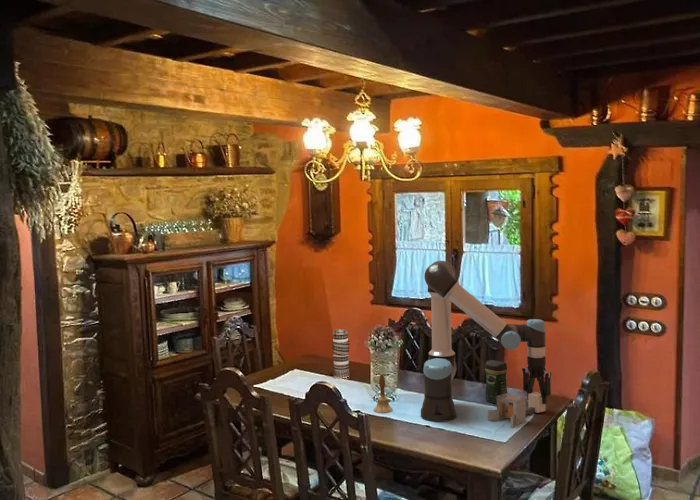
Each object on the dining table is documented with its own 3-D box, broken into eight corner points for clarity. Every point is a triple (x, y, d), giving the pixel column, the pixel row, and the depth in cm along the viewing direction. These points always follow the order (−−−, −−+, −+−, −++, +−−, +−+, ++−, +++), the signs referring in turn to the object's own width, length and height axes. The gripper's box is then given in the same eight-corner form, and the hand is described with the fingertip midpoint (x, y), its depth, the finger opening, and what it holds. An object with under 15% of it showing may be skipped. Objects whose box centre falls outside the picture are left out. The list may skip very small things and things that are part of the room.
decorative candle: (350, 379, 348) (348, 331, 346) (332, 379, 348) (331, 331, 346) (350, 374, 357) (349, 328, 355) (333, 374, 357) (331, 328, 355)
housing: (512, 428, 266) (512, 404, 266) (487, 420, 276) (487, 397, 276) (528, 422, 272) (528, 399, 272) (503, 415, 283) (503, 392, 282)
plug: (516, 420, 274) (516, 403, 273) (507, 417, 278) (506, 400, 277) (545, 410, 285) (545, 394, 285) (535, 407, 289) (535, 391, 289)
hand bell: (386, 414, 288) (386, 377, 287) (370, 411, 292) (369, 375, 291) (396, 409, 295) (395, 373, 294) (379, 406, 299) (378, 371, 298)
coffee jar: (510, 401, 301) (510, 361, 299) (499, 405, 296) (498, 364, 295) (493, 397, 308) (493, 357, 307) (482, 401, 303) (481, 360, 302)
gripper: (559, 358, 279) (560, 412, 281) (524, 351, 294) (525, 403, 295) (548, 360, 275) (549, 416, 276) (513, 354, 289) (514, 406, 291)
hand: (537, 409), depth 286 cm, fingers closed on plug, 5 cm apart
